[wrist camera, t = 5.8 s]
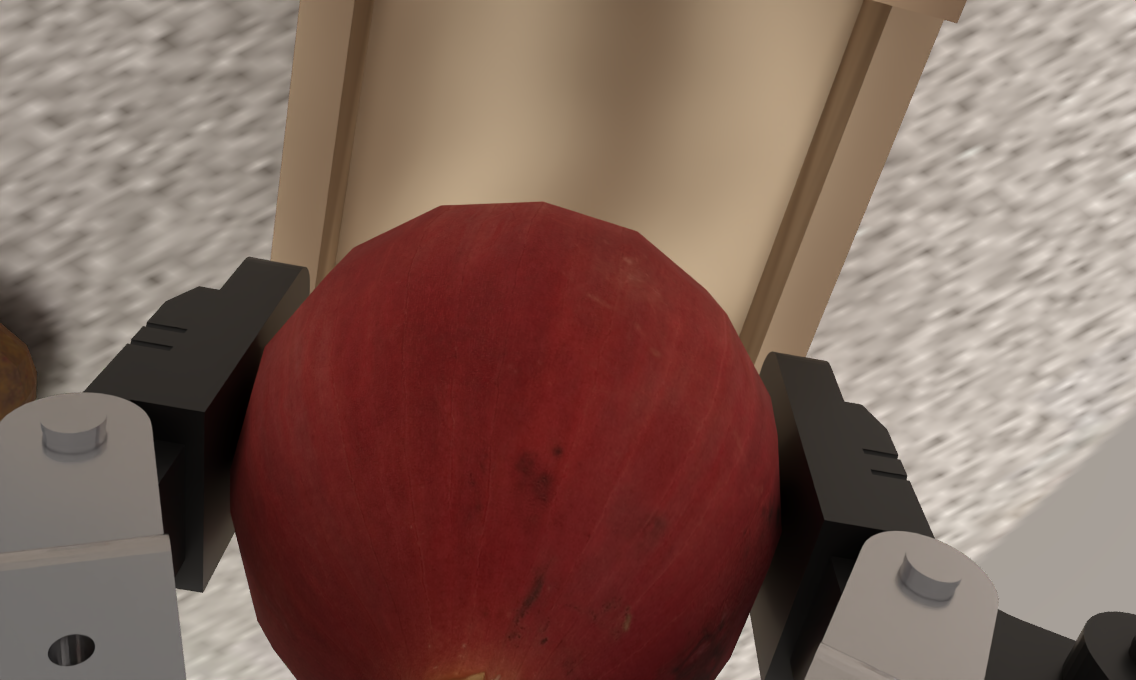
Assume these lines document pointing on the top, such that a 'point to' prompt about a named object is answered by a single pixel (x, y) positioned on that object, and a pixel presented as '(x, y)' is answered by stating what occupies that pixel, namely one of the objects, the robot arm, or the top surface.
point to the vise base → (611, 129)
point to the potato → (15, 373)
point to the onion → (506, 460)
